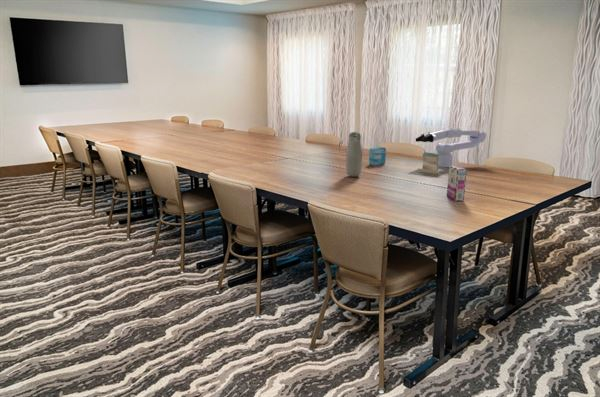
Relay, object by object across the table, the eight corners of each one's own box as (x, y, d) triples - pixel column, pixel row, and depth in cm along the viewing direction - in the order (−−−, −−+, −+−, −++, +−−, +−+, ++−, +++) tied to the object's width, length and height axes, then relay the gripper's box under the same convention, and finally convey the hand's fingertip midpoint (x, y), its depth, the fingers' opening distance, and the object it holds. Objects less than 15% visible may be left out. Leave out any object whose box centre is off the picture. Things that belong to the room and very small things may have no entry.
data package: (373, 165, 327) (373, 148, 324) (368, 164, 330) (369, 148, 327) (385, 164, 333) (386, 147, 330) (380, 163, 337) (381, 146, 334)
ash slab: (424, 170, 307) (425, 152, 304) (437, 172, 302) (439, 153, 299) (422, 171, 304) (423, 153, 301) (435, 173, 299) (437, 154, 296)
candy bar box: (464, 201, 233) (467, 169, 229) (454, 201, 233) (457, 169, 229) (455, 195, 244) (457, 165, 240) (446, 196, 244) (448, 165, 240)
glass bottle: (344, 177, 290) (344, 132, 282) (348, 174, 299) (349, 130, 292) (359, 178, 286) (360, 133, 279) (363, 175, 296) (364, 131, 288)
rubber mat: (419, 169, 314) (419, 165, 313) (448, 172, 303) (448, 168, 302) (407, 174, 297) (407, 170, 297) (437, 178, 286) (438, 174, 286)
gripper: (429, 130, 321) (412, 134, 318) (441, 130, 308) (424, 134, 304) (431, 140, 323) (414, 144, 319) (443, 140, 309) (425, 144, 306)
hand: (418, 140), depth 312 cm, fingers open, 7 cm apart
